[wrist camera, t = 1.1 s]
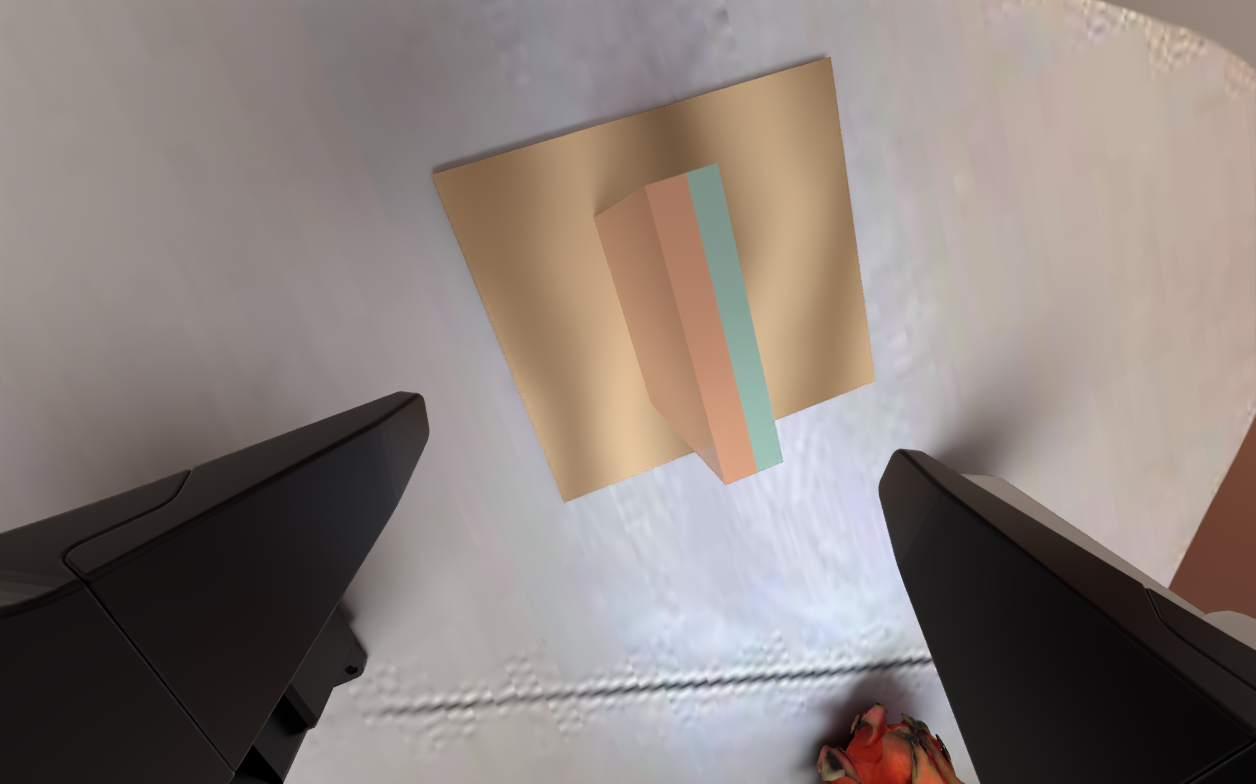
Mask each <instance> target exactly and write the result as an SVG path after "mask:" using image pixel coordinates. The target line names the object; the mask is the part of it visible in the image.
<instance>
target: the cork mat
mask: <svg viewBox="0 0 1256 784" xmlns="http://www.w3.org/2000/svg"><path fill="white" fill-rule="evenodd" d="M716 163H718V166H719V171H720V176H721V180H722V185H723V189H724V194H725V198H726V203H727V207H728V212H729V217H730V221H731V226H732V230H733V235H734V239H735V244H736V248H737V253H738V258H739V262H740V267H741V271H742V276H743V280H744V285H745V289H746V294H747V299H748V303H749V308H750V312H751V317H752V321H753V326H754V330H755V335H756V340H757V344H758V349H759V353H760V358H761V362H762V367H763V371H764V376H765V381H766V385H767V390H768V394H769V399H770V403H771V408H772V412H773V417H774V421H775V420H777V419H780V418H782V417H785V416H788V415H790V414H793V413H795V412H798V411H800V410H803V409H805V408H808V407H811V406H813V405H816V404H818V403H821V402H823V401H826V400H828V399H831V398H834V397H836V396H839V395H841V394H844V393H846V392H849V391H851V390H854V389H857V388H859V387H862V386H864V385H867V384H869V383H872V382H874V381H875V376H874V368H873V361H872V354H871V347H870V339H869V332H868V325H867V318H866V310H865V303H864V296H863V289H862V281H861V274H860V267H859V260H858V252H857V245H856V238H855V231H854V223H853V216H852V209H851V202H850V194H849V187H848V180H847V172H846V165H845V158H844V151H843V143H842V136H841V129H840V122H839V114H838V107H837V100H836V93H835V85H834V78H833V71H832V64H831V57H828V58H825V59H821V60H818V61H815V62H811V63H808V64H804V65H801V66H798V67H794V68H791V69H788V70H784V71H781V72H777V73H774V74H771V75H767V76H764V77H760V78H757V79H754V80H750V81H747V82H743V83H740V84H737V85H733V86H730V87H727V88H723V89H720V90H716V91H713V92H710V93H706V94H703V95H699V96H696V97H693V98H689V99H686V100H682V101H679V102H676V103H672V104H669V105H665V106H662V107H659V108H655V109H652V110H649V111H645V112H642V113H638V114H635V115H632V116H628V117H625V118H621V119H618V120H615V121H611V122H608V123H604V124H601V125H598V126H594V127H591V128H588V129H584V130H581V131H577V132H574V133H571V134H567V135H564V136H560V137H557V138H554V139H550V140H547V141H543V142H540V143H537V144H533V145H530V146H527V147H523V148H520V149H516V150H513V151H510V152H506V153H503V154H499V155H496V156H493V157H489V158H486V159H482V160H479V161H476V162H472V163H469V164H466V165H462V166H459V167H455V168H452V169H449V170H445V171H442V172H438V173H435V174H432V175H431V177H432V179H433V182H434V184H435V187H436V189H437V191H438V194H439V196H440V199H441V201H442V204H443V206H444V209H445V211H446V214H447V216H448V219H449V221H450V223H451V226H452V228H453V231H454V233H455V236H456V238H457V241H458V243H459V246H460V248H461V250H462V253H463V255H464V258H465V260H466V263H467V265H468V268H469V270H470V273H471V275H472V278H473V280H474V282H475V285H476V287H477V290H478V292H479V295H480V297H481V300H482V302H483V305H484V307H485V309H486V312H487V314H488V317H489V319H490V322H491V324H492V327H493V329H494V332H495V334H496V337H497V339H498V341H499V344H500V346H501V349H502V351H503V354H504V356H505V359H506V361H507V364H508V366H509V368H510V371H511V373H512V376H513V378H514V381H515V383H516V386H517V388H518V391H519V393H520V396H521V398H522V400H523V403H524V405H525V408H526V410H527V413H528V415H529V418H530V420H531V423H532V425H533V427H534V430H535V432H536V435H537V437H538V440H539V442H540V445H541V447H542V450H543V452H544V454H545V457H546V459H547V462H548V464H549V467H550V469H551V472H552V474H553V477H554V479H555V482H556V484H557V486H558V489H559V491H560V494H561V496H562V499H563V501H564V503H565V502H568V501H570V500H573V499H575V498H578V497H581V496H583V495H586V494H588V493H591V492H593V491H596V490H598V489H601V488H604V487H606V486H609V485H611V484H614V483H616V482H619V481H621V480H624V479H627V478H629V477H632V476H634V475H637V474H639V473H642V472H644V471H647V470H650V469H652V468H655V467H657V466H660V465H662V464H665V463H667V462H670V461H673V460H675V459H678V458H680V457H683V456H685V455H688V454H690V453H693V452H695V451H694V450H693V449H692V448H691V447H690V446H689V445H688V443H687V442H686V441H685V440H684V439H683V438H682V437H681V436H680V435H679V434H678V433H677V431H676V430H675V429H674V428H673V427H672V426H671V425H670V424H669V423H668V422H667V420H666V419H665V418H664V417H663V416H662V415H661V414H660V413H659V412H658V411H657V409H656V408H655V407H654V406H653V405H652V404H651V402H650V398H649V395H648V392H647V389H646V386H645V382H644V379H643V376H642V373H641V369H640V366H639V363H638V360H637V357H636V353H635V350H634V347H633V344H632V340H631V337H630V334H629V331H628V328H627V324H626V321H625V318H624V315H623V311H622V308H621V305H620V302H619V299H618V295H617V292H616V289H615V286H614V282H613V279H612V276H611V273H610V270H609V266H608V263H607V260H606V257H605V253H604V250H603V247H602V244H601V240H600V237H599V234H598V231H597V228H596V224H595V221H594V218H595V217H596V216H598V215H599V214H601V213H602V212H604V211H606V210H607V209H609V208H610V207H612V206H614V205H615V204H617V203H618V202H620V201H622V200H623V199H625V198H626V197H628V196H629V195H631V194H633V193H634V192H636V191H637V190H639V189H641V188H642V187H644V186H646V185H649V184H652V183H655V182H659V181H662V180H665V179H668V178H671V177H674V176H678V175H681V174H684V173H687V172H690V171H694V170H697V169H700V168H703V167H706V166H709V165H713V164H716Z"/></svg>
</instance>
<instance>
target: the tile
mask: <svg viewBox="0 0 1256 784" xmlns="http://www.w3.org/2000/svg"><path fill="white" fill-rule="evenodd" d="M594 221H595V224H596V228H597V231H598V234H599V237H600V240H601V244H602V247H603V250H604V253H605V257H606V260H607V263H608V266H609V270H610V273H611V276H612V279H613V282H614V286H615V289H616V292H617V295H618V299H619V302H620V305H621V308H622V311H623V315H624V318H625V321H626V324H627V328H628V331H629V334H630V337H631V340H632V344H633V347H634V350H635V353H636V357H637V360H638V363H639V366H640V369H641V373H642V376H643V379H644V382H645V386H646V389H647V392H648V395H649V398H650V402H651V404H652V405H653V406H654V407H655V408H656V409H657V411H658V412H659V413H660V414H661V415H662V416H663V417H664V418H665V419H666V420H667V422H668V423H669V424H670V425H671V426H672V427H673V428H674V429H675V430H676V431H677V433H678V434H679V435H680V436H681V437H682V438H683V439H684V440H685V441H686V442H687V443H688V445H689V446H690V447H691V448H692V449H693V450H694V451H695V452H696V453H697V454H698V456H699V457H700V458H701V459H702V460H703V461H704V462H705V463H706V464H707V465H708V466H709V468H710V469H711V470H712V471H713V472H714V473H715V474H716V475H717V476H718V477H719V479H720V480H721V481H722V482H723V483H724V484H725V485H727V484H730V483H732V482H735V481H737V480H740V479H742V478H745V477H747V476H750V475H752V474H755V473H757V472H760V471H762V470H765V469H767V468H770V467H772V466H774V465H777V464H779V463H782V462H783V458H782V453H781V449H780V444H779V440H778V435H777V431H776V426H775V422H774V417H773V412H772V408H771V403H770V399H769V394H768V390H767V385H766V381H765V376H764V371H763V367H762V362H761V358H760V353H759V349H758V344H757V340H756V335H755V330H754V326H753V321H752V317H751V312H750V308H749V303H748V299H747V294H746V289H745V285H744V280H743V276H742V271H741V267H740V262H739V258H738V253H737V248H736V244H735V239H734V235H733V230H732V226H731V221H730V217H729V212H728V207H727V203H726V198H725V194H724V189H723V185H722V180H721V176H720V171H719V166H718V163H716V164H713V165H709V166H706V167H703V168H700V169H697V170H694V171H690V172H687V173H684V174H681V175H678V176H674V177H671V178H668V179H665V180H662V181H659V182H655V183H652V184H649V185H646V186H644V187H642V188H641V189H639V190H637V191H636V192H634V193H633V194H631V195H629V196H628V197H626V198H625V199H623V200H622V201H620V202H618V203H617V204H615V205H614V206H612V207H610V208H609V209H607V210H606V211H604V212H602V213H601V214H599V215H598V216H596V217H595V218H594Z"/></svg>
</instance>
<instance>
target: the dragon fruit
mask: <svg viewBox="0 0 1256 784" xmlns="http://www.w3.org/2000/svg"><path fill="white" fill-rule="evenodd" d="M867 710H868V709H867ZM867 710H866V711H867ZM866 711H865V712H866ZM865 712H864V713H863V714H864V715H863V714H859V715H857V716H856V718H855V720H854V722H853V723H852V726H851V733H850V735H851V734H852V733H853V731H854V729H855V726H856V724H857V723H858V725H857V727H856V730H855V734H854V738H853V740H852V741H851V742H850V744H849V746H848V748H847V750H846V751H844V750H843V749H841V748H840V747H838V746H836V747H837V748H835V749H833V748H831V747H829V746H827V745H824V746H823V747H822V750H821V752H820V756H819V760H818V762H817V766H816V767H817V769H818V774H819V776H820V777H821V778H822V780H823V781H825V784H965V783H963V782H961V781H960V780H959V779H958V778H957V777H956V775H955V771H954V768H953V765H952V763H951V758H950V755H949V752H948V751H947V749H946V747H945V745H944V744H943V742H942V740H941V739H940V738H939V736H938V735H937V734H936V738H937V740H936V739H935V738H934V737H933V736H932V735H931V733H930V731H929V729H928V727H927V725H926V724H925V723H923V722H922V721H915V720H914V719H913V718H911V717H908V716H906V715H904V714H902V713H901V715H902V718H903V721H902V722H901V724H893V725H887V723H886V714H887V709H886V708H885V706H884V705H883V704H880V703H878V702H876V705H874V706H873V707H872V708H871V710H868V713H867V714H865ZM943 745H944V746H943ZM944 747H945V748H944ZM941 749H942V750H941Z"/></svg>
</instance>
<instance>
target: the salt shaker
mask: <svg viewBox="0 0 1256 784" xmlns="http://www.w3.org/2000/svg"><path fill="white" fill-rule="evenodd" d="M961 475H962V476H964V477H966V478H967V479H969V480H971V481H972V482H974V483H976V484H977V485H979V486H981V487H982V488H984V489H986V490H987V491H989V492H991V493H992V494H994V495H996V496H997V497H999V498H1001V499H1002V500H1004V501H1006V502H1007V503H1009V504H1011V505H1012V506H1014V507H1016V508H1017V509H1019V510H1021V511H1022V512H1024V513H1026V514H1027V515H1029V516H1031V517H1032V518H1034V519H1035V520H1037V521H1039V522H1040V523H1042V524H1044V525H1045V526H1047V527H1049V528H1050V529H1052V530H1054V531H1055V532H1057V533H1059V534H1060V535H1062V536H1064V537H1065V538H1067V539H1069V540H1070V541H1072V542H1074V543H1075V544H1077V545H1079V546H1080V547H1082V548H1084V549H1085V550H1087V551H1089V552H1090V553H1092V554H1094V555H1095V556H1097V557H1099V558H1100V559H1102V560H1104V561H1105V562H1107V563H1109V564H1110V565H1112V566H1114V567H1115V568H1117V569H1119V570H1120V571H1122V572H1124V573H1125V574H1127V575H1129V576H1130V577H1132V578H1134V579H1135V580H1137V581H1139V582H1140V583H1142V584H1143V585H1144V587H1145V588H1151V589H1152V590H1154V591H1156V592H1157V593H1159V594H1161V595H1162V596H1164V597H1166V598H1167V599H1169V600H1171V601H1172V602H1174V603H1176V604H1177V605H1179V606H1181V607H1182V608H1184V609H1186V610H1187V611H1189V612H1191V613H1193V614H1194V615H1196V616H1198V617H1199V618H1201V619H1203V620H1204V621H1206V622H1208V623H1210V624H1211V625H1213V626H1215V627H1216V628H1218V629H1220V630H1222V631H1223V632H1225V633H1227V634H1228V635H1230V636H1232V637H1233V638H1235V639H1237V640H1239V641H1241V642H1242V643H1244V644H1246V645H1248V646H1249V647H1251V648H1253V649H1255V650H1256V620H1255V619H1253V618H1251V617H1249V616H1247V615H1243V614H1240V613H1236V612H1232V611H1221V612H1213V613H1209V614H1208V615H1206V614H1204V613H1203V612H1201V611H1200V610H1198V609H1197V608H1195V607H1194V606H1192V605H1191V604H1189V603H1188V602H1186V601H1185V600H1183V599H1182V598H1180V597H1179V596H1177V595H1176V594H1174V593H1173V592H1171V591H1170V590H1168V589H1167V588H1165V587H1164V586H1162V585H1161V584H1159V583H1158V582H1156V581H1155V580H1153V579H1152V578H1150V577H1149V576H1148V575H1146V574H1145V573H1143V572H1142V571H1140V570H1139V569H1137V568H1136V567H1134V566H1133V565H1131V564H1130V563H1128V562H1127V561H1125V560H1124V559H1122V558H1121V557H1119V556H1118V555H1116V554H1115V553H1113V552H1112V551H1110V550H1109V549H1107V548H1106V547H1104V546H1103V545H1101V544H1100V543H1098V542H1097V541H1095V540H1094V539H1092V538H1091V537H1089V536H1088V535H1086V534H1085V533H1083V532H1082V531H1080V530H1079V529H1077V528H1076V527H1074V526H1073V525H1071V524H1070V523H1068V522H1067V521H1065V520H1064V519H1062V518H1061V517H1059V516H1058V515H1056V514H1055V513H1053V512H1052V511H1050V510H1049V509H1047V508H1046V507H1044V506H1043V505H1041V504H1040V503H1038V502H1037V501H1035V500H1034V499H1032V498H1031V497H1029V496H1028V495H1027V494H1025V493H1024V492H1022V491H1021V490H1019V489H1018V488H1016V487H1015V486H1013V485H1012V484H1010V483H1009V482H1007V481H1006V480H1004V479H1002V478H999V477H995V476H992V475H975V474H961Z"/></svg>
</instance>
